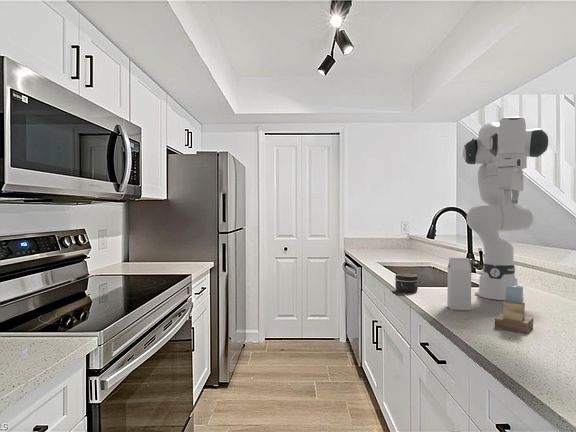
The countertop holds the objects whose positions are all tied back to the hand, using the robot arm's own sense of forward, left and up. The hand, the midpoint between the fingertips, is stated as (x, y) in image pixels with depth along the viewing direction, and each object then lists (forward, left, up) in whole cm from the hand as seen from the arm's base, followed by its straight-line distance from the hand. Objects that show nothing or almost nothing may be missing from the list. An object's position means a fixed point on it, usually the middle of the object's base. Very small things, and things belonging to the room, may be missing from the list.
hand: (511, 203), depth 145 cm
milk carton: (-2, -18, -39) cm, 43 cm away
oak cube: (+14, +4, -36) cm, 39 cm away
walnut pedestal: (+14, +4, -39) cm, 42 cm away
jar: (-21, -48, -39) cm, 65 cm away
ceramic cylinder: (+14, +4, -31) cm, 34 cm away
